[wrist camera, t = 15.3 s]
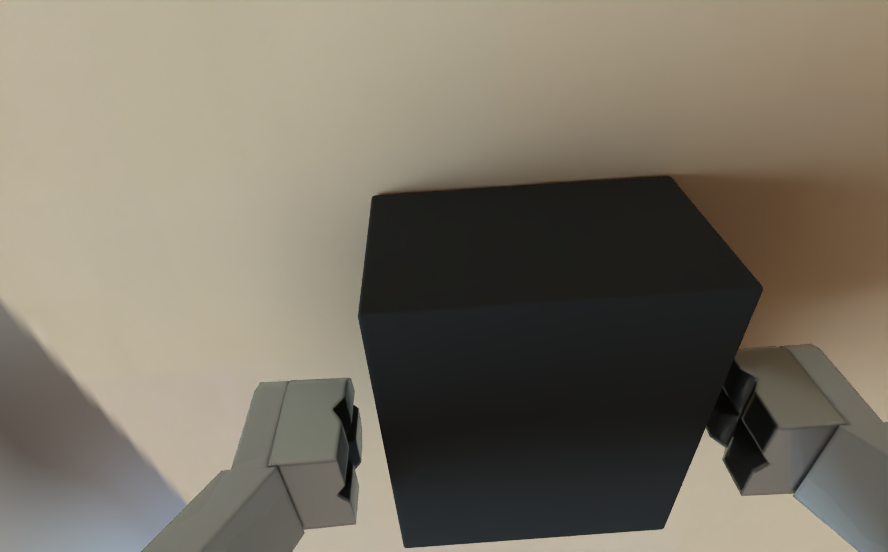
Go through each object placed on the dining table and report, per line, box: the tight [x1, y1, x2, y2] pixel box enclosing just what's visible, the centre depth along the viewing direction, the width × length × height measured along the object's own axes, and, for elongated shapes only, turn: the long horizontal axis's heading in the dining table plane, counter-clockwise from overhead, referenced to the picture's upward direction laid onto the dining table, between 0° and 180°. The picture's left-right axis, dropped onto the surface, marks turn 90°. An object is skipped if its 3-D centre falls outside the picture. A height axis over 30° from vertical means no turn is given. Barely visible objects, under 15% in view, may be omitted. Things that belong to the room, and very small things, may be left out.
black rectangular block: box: [358, 176, 763, 548], centre depth 9 cm, size 5×6×3 cm
